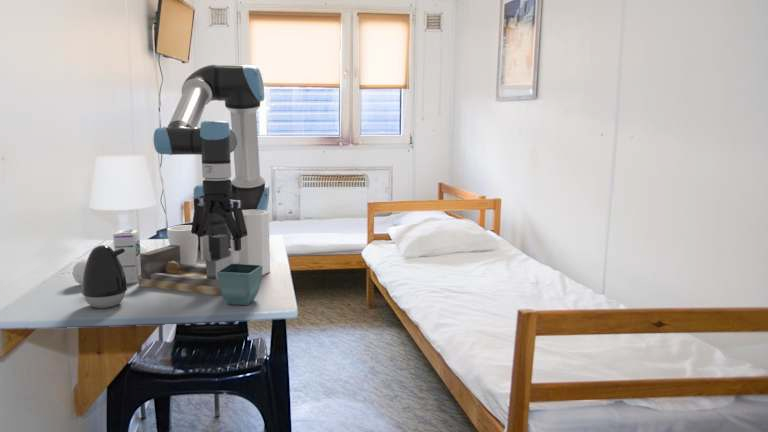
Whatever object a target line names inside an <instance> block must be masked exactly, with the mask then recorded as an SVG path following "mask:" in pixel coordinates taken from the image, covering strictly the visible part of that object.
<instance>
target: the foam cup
mask: <svg viewBox="0 0 768 432" xmlns="http://www.w3.org/2000/svg"><path fill="white" fill-rule="evenodd" d="M191 229H192V224H188V225H187V224H186V225H175V226H174V225H173V226H169V227H167V228H166V231H167V233H166V235H167V239H168V242H169V245H178V246H180V263H181V264H187V265H197V262H198V261H197V260H198V251H199V250H198V236H197V235H196V234H192V233H191Z"/></svg>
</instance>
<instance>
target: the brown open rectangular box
mask: <svg viewBox="0 0 768 432" xmlns="http://www.w3.org/2000/svg"><path fill="white" fill-rule="evenodd" d="M169 261H175V262H177V263H178V264H179V266H180V269H179V272H178V273H177V274H175V275H173V274H167V273H166V271H165V265H166V264H167V263H168V262H169ZM140 264H141V278H140V279H139V282H138V286H139V287H146V288H153V289H164V290H170V291H179V292H187V293H194V294H202V295H210V296H211V295H212V296H220V295H222V293H221V290H220V286H219V280H218V279H209V278H207V272H206V265H197V264H196V265H187V264H181V263H180V246H178V245H170V244H169V245H167V246H162V247H160V248H155V249H153V250H152V249H151V250H149V251H145V252H141V254H140Z"/></svg>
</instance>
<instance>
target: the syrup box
mask: <svg viewBox="0 0 768 432" xmlns="http://www.w3.org/2000/svg"><path fill="white" fill-rule="evenodd" d="M112 237H113V251H116V250H119V249H122V248H123V249H124V250H125V252H124V253H122V254H120V255H118V256H117V257H118V258H119V260H120V263H121V265H122V267H123V270H124V274H125V278H126V283H127V285H128V284H129V285H130V284H139V279H140V278H141V264H140V254H141V253H142V252H141V242H140V241H141V240H140V231H139V229H123V230H120V229H119V230H117V232H115V233H114V234H112Z"/></svg>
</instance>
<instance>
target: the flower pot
mask: <svg viewBox="0 0 768 432" xmlns="http://www.w3.org/2000/svg"><path fill="white" fill-rule="evenodd" d="M217 275H218V280H219V286H220V290H221V293H222V294H221V295H222V298H223V299H224V301H226V303H227V304H228V305H237V306H238V305H239V306H240V305H241V306H247V305H249V304H251V302H253V301H254V300H255V299H256V297H257V295H258V292H259V291H260V288H261V284H262V277H263V276H262V265H249V264H229V265H227V266H226V267H224V268H223V269H221V270H219V271H218V272H217Z"/></svg>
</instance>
